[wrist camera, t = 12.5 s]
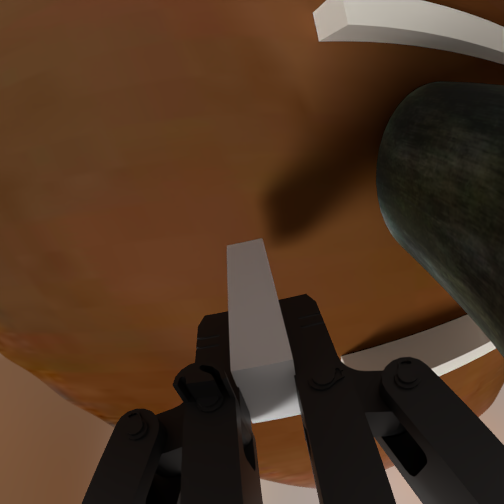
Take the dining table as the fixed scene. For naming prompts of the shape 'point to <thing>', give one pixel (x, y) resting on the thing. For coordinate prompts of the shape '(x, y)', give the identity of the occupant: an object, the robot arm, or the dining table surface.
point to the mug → (450, 192)
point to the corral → (431, 36)
